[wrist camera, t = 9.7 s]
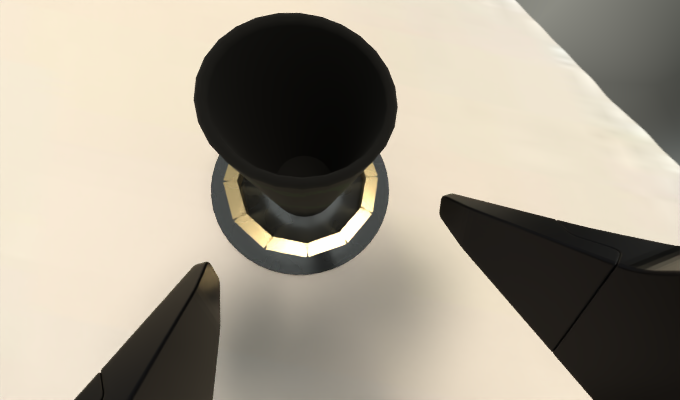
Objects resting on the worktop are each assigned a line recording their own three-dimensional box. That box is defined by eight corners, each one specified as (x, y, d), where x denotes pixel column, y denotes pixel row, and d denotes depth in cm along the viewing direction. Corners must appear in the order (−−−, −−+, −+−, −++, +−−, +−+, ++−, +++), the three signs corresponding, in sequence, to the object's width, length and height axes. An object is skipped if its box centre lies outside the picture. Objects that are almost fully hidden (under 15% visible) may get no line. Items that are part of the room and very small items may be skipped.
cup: (251, 224, 19) (168, 173, 8) (265, 138, 21) (215, -5, 10) (346, 233, 20) (397, 197, 9) (351, 149, 22) (399, 29, 11)
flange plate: (309, 314, 19) (310, 320, 17) (174, 190, 20) (160, 183, 18) (416, 182, 23) (426, 175, 21) (299, 83, 24) (299, 68, 22)
